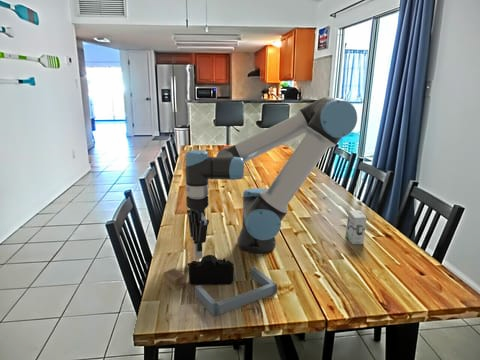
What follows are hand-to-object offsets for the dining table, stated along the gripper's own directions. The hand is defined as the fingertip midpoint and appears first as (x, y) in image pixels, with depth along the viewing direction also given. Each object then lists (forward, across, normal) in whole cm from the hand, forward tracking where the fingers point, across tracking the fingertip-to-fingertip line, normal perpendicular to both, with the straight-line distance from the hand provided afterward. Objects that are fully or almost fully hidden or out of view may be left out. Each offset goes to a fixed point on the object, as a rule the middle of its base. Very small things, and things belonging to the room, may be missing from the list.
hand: (198, 257), depth 127 cm
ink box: (+2, +16, +64) cm, 66 cm away
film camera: (+2, +12, -1) cm, 12 cm away
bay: (+1, +25, +1) cm, 25 cm away
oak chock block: (+2, +10, -13) cm, 16 cm away
